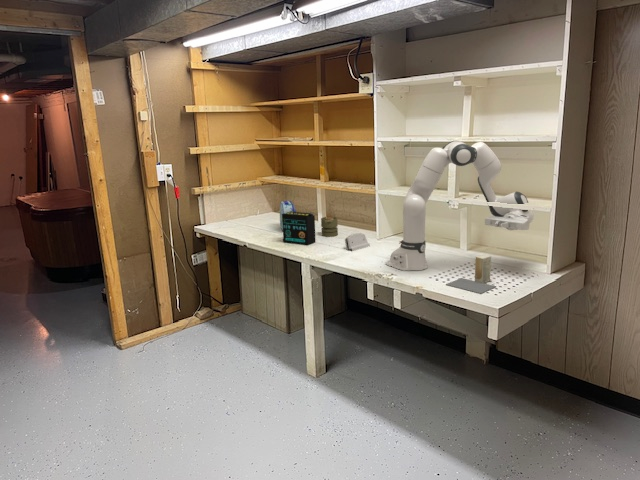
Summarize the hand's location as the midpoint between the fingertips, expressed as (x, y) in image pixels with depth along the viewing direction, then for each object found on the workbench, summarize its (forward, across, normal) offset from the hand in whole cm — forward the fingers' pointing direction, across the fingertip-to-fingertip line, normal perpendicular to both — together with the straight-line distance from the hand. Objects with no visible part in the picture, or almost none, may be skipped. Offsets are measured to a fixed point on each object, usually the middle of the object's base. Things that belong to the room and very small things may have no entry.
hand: (498, 225), depth 228 cm
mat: (+22, 0, +25) cm, 33 cm away
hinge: (+5, -89, +25) cm, 93 cm away
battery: (+20, -127, +25) cm, 131 cm away
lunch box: (-1, -166, +25) cm, 168 cm away
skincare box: (+12, 0, +25) cm, 28 cm away
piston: (-8, -128, +25) cm, 131 cm away
